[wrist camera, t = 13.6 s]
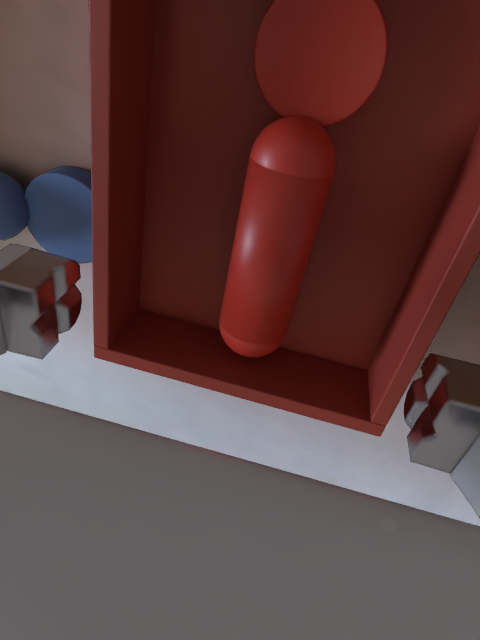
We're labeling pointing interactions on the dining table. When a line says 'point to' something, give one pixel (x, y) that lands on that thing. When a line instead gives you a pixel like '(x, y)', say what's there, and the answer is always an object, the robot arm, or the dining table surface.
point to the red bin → (227, 189)
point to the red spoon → (295, 155)
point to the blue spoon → (51, 211)
